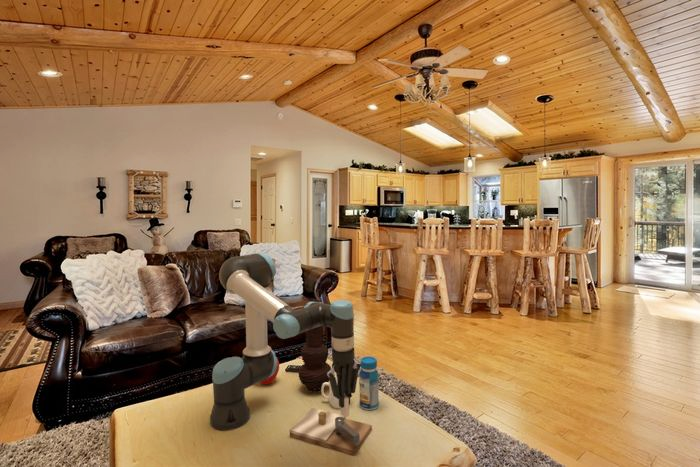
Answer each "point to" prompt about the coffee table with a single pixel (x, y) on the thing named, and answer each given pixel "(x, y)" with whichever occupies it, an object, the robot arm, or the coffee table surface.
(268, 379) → the apple
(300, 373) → the vase
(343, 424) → the bar
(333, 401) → the cup
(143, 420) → the coffee table surface
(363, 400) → the beverage bottle
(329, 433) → the door board
